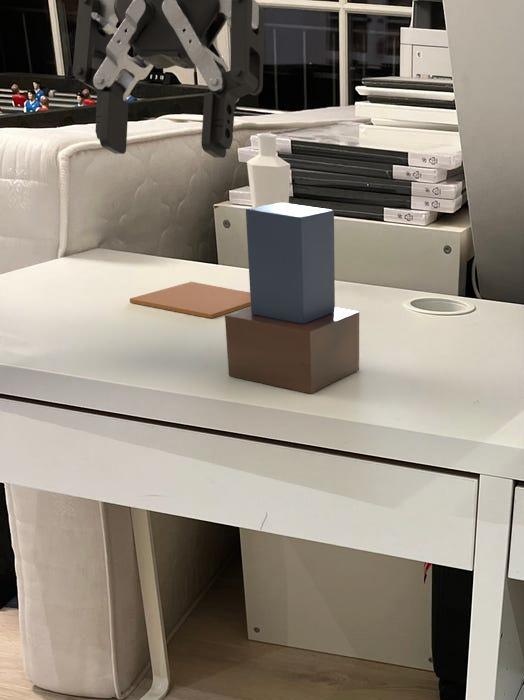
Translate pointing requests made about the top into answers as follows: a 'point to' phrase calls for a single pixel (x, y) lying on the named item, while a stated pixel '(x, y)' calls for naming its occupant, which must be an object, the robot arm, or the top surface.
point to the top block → (291, 261)
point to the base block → (293, 349)
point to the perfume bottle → (268, 174)
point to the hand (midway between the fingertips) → (162, 152)
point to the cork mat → (196, 299)
